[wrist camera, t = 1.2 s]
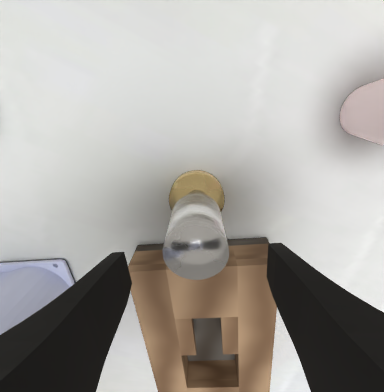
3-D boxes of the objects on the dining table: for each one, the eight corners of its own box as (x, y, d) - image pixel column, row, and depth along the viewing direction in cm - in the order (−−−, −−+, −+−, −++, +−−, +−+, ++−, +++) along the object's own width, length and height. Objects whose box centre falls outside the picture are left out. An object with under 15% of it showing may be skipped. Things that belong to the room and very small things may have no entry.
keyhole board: (167, 373, 29) (162, 408, 26) (137, 245, 21) (125, 272, 18) (259, 371, 29) (268, 407, 25) (266, 237, 20) (280, 263, 17)
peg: (174, 220, 20) (158, 289, 12) (167, 172, 18) (144, 218, 10) (223, 217, 20) (240, 285, 12) (221, 168, 18) (240, 211, 10)
